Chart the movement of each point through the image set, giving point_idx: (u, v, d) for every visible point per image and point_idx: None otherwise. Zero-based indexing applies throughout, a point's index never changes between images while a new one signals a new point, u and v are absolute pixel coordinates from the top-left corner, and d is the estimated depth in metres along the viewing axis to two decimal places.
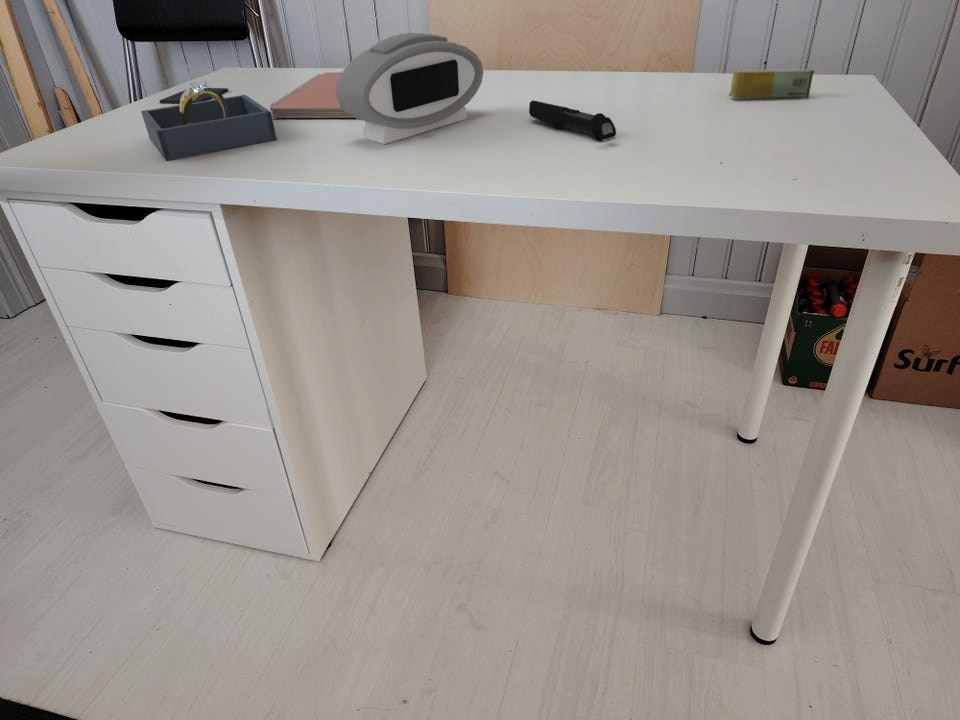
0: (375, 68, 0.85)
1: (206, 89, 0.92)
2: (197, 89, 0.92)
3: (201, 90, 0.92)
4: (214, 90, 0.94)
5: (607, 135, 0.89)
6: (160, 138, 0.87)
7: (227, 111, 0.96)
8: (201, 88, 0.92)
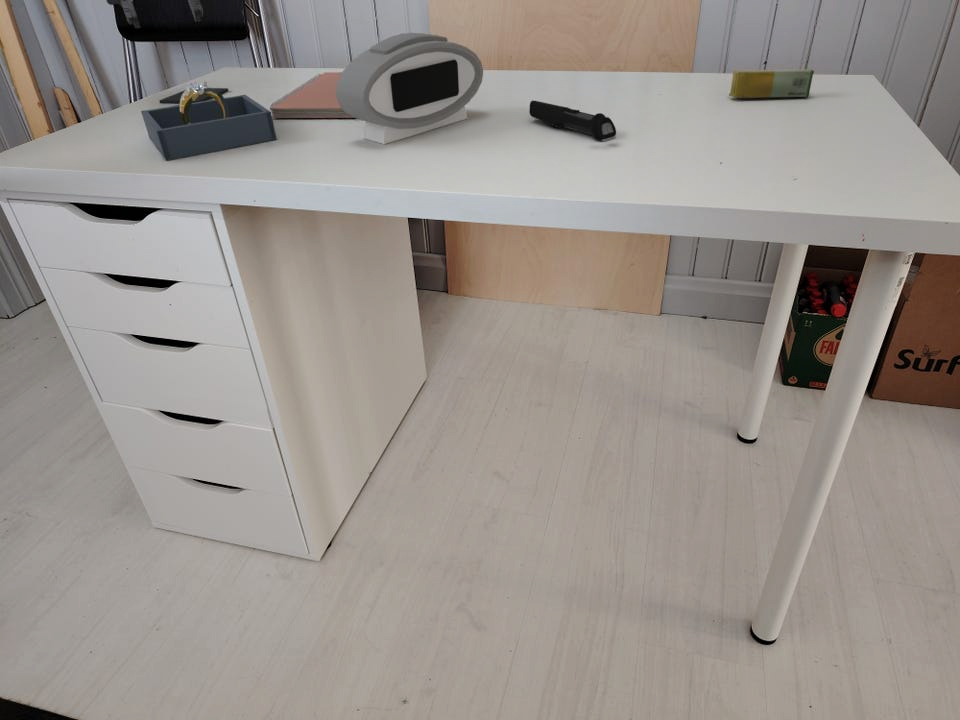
0: (375, 67, 0.85)
1: (206, 89, 0.92)
2: (197, 89, 0.92)
3: (201, 90, 0.92)
4: (214, 90, 0.94)
5: (607, 135, 0.89)
6: (160, 138, 0.87)
7: (227, 111, 0.96)
8: (201, 88, 0.92)
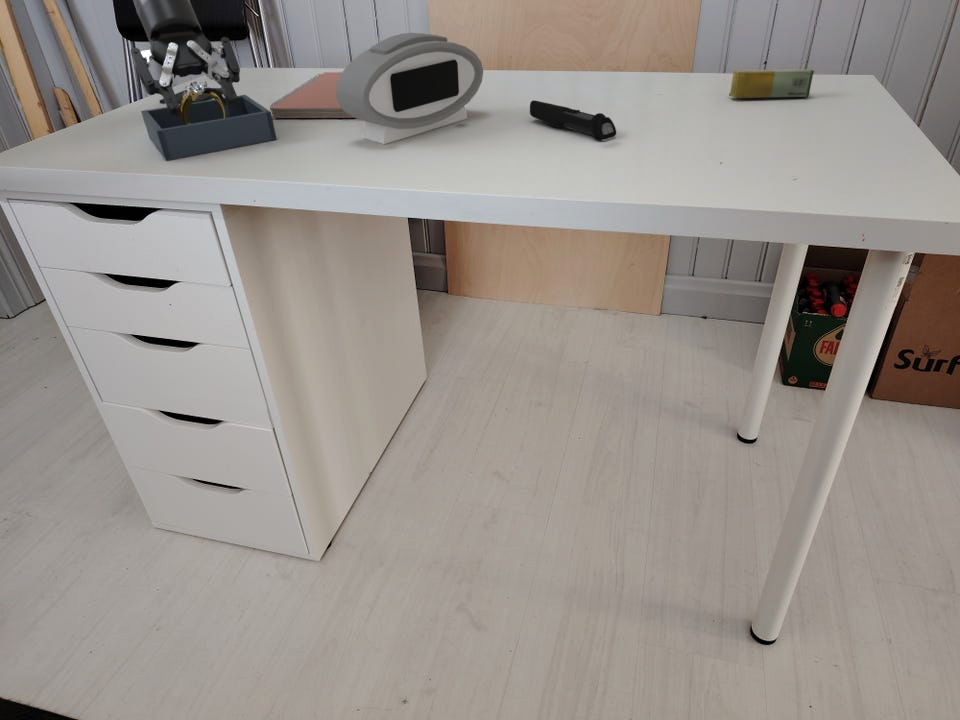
0: (375, 67, 0.85)
1: (206, 89, 0.92)
2: (197, 89, 0.92)
3: (201, 90, 0.92)
4: (214, 90, 0.94)
5: (607, 135, 0.89)
6: (160, 138, 0.87)
7: (227, 111, 0.96)
8: (201, 88, 0.92)
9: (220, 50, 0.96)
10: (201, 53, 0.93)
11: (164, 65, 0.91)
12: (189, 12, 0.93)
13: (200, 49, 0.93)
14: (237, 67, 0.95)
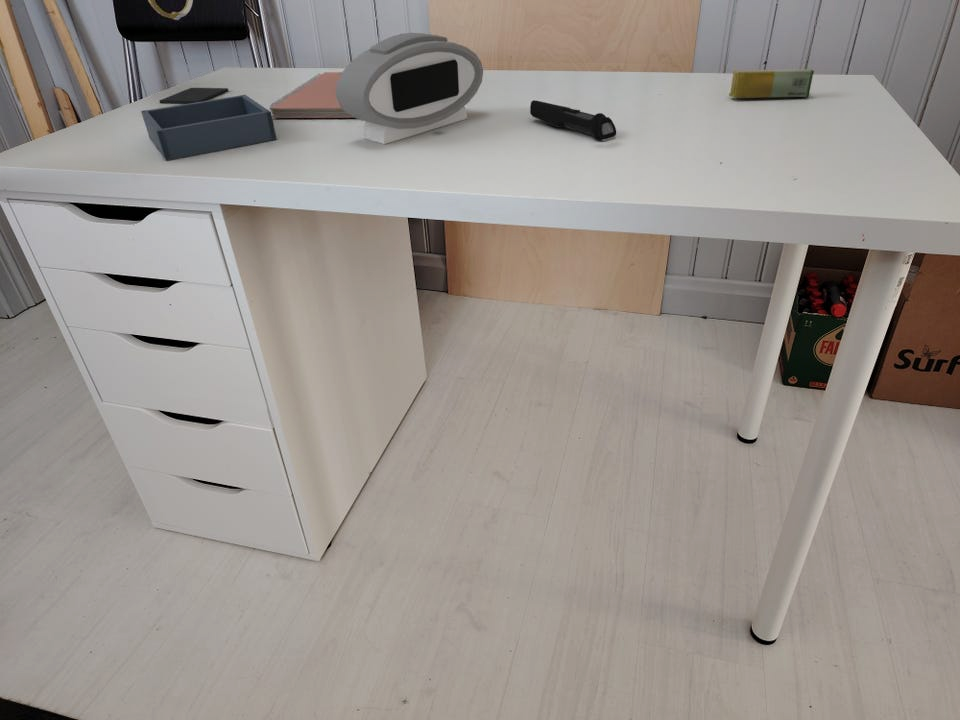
0: (375, 67, 0.85)
1: None
2: None
3: None
4: None
5: (607, 135, 0.89)
6: (160, 138, 0.87)
7: None
8: None
9: None
10: None
11: None
12: None
13: None
14: None
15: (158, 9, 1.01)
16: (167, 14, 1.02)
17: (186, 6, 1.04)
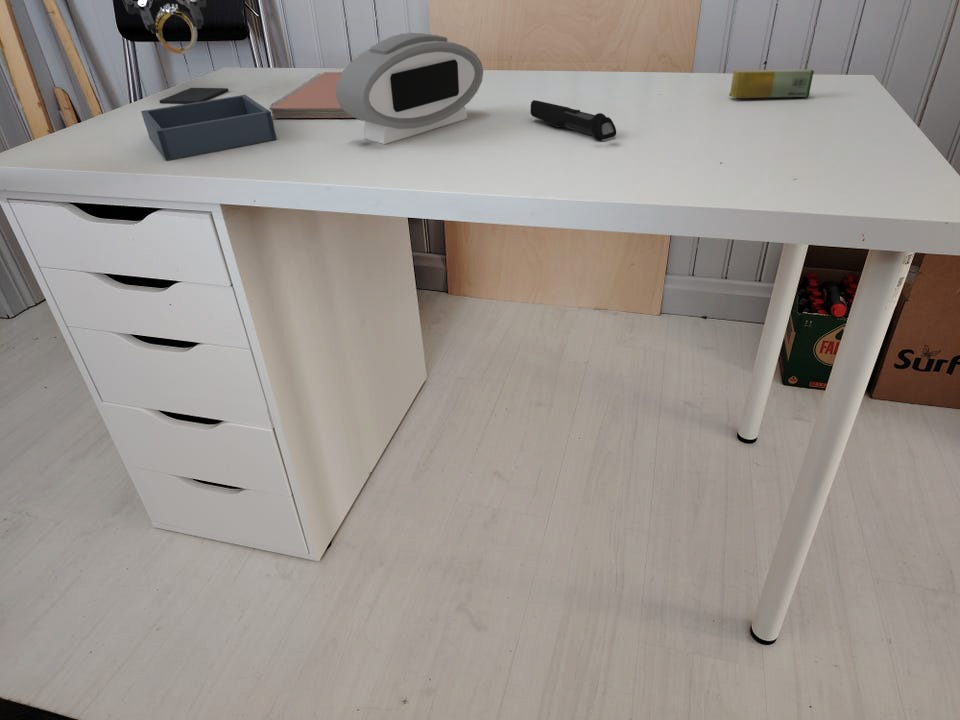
0: (375, 67, 0.85)
1: (177, 10, 1.12)
2: (169, 9, 1.11)
3: (172, 10, 1.11)
4: (184, 11, 1.13)
5: (607, 135, 0.89)
6: (160, 138, 0.87)
7: (195, 31, 1.16)
8: (172, 8, 1.11)
9: None
10: None
11: None
12: None
13: None
14: None
15: (166, 45, 1.14)
16: (174, 49, 1.15)
17: (191, 42, 1.17)
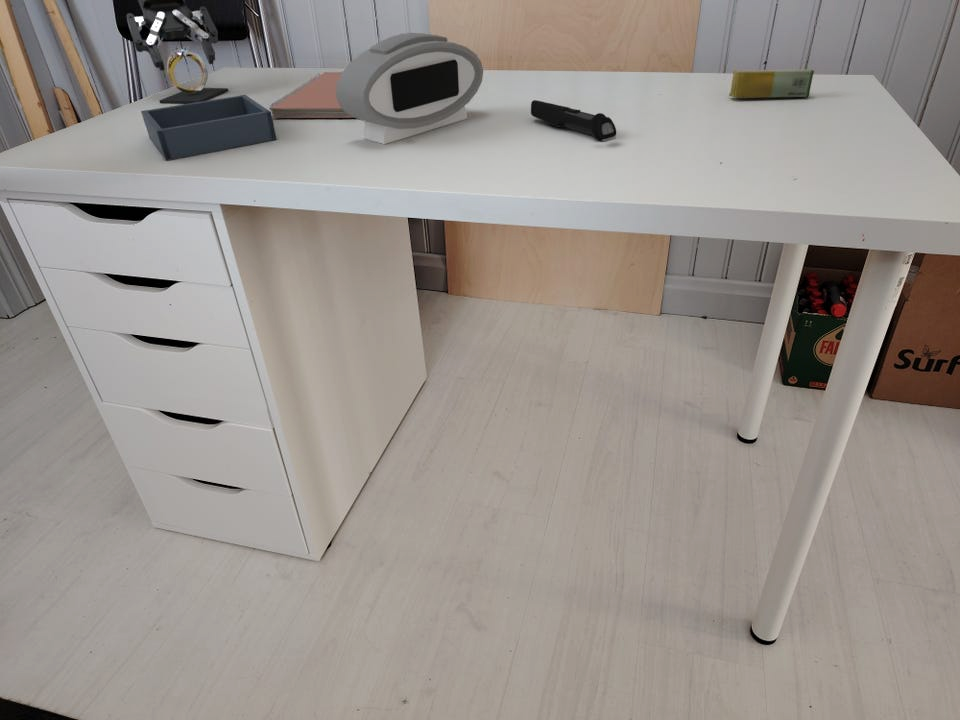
0: (375, 67, 0.85)
1: (188, 52, 1.16)
2: (181, 52, 1.15)
3: (184, 53, 1.15)
4: (195, 53, 1.17)
5: (607, 135, 0.89)
6: (160, 138, 0.87)
7: (206, 71, 1.20)
8: (184, 51, 1.15)
9: (200, 17, 1.19)
10: (184, 20, 1.16)
11: (152, 28, 1.14)
12: None
13: (183, 17, 1.16)
14: (215, 30, 1.18)
15: (178, 86, 1.18)
16: (186, 90, 1.19)
17: (202, 82, 1.20)
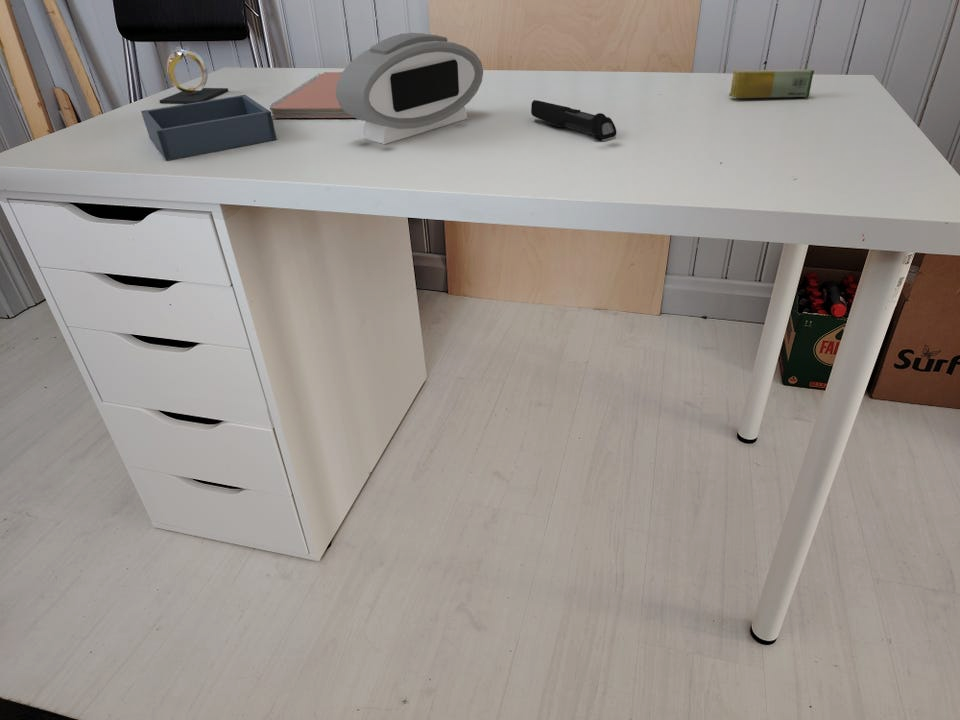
0: (375, 67, 0.85)
1: (188, 52, 1.16)
2: (181, 52, 1.15)
3: (184, 53, 1.15)
4: (195, 53, 1.17)
5: (607, 135, 0.89)
6: (160, 138, 0.87)
7: (206, 71, 1.20)
8: (184, 51, 1.15)
9: None
10: None
11: None
12: None
13: None
14: None
15: (178, 86, 1.18)
16: (186, 90, 1.19)
17: (202, 82, 1.20)
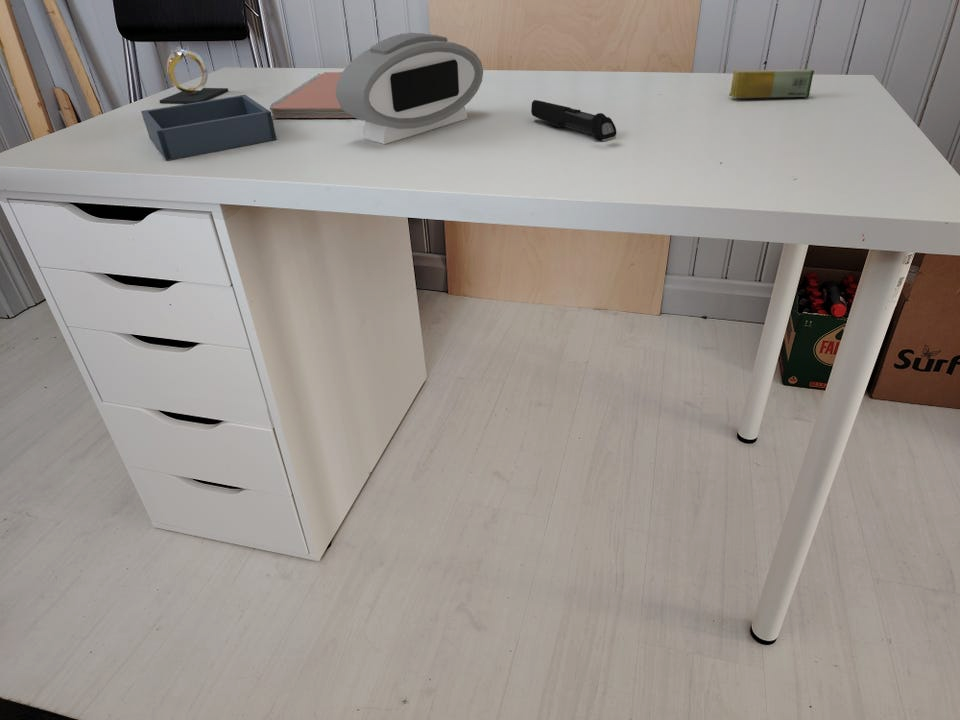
0: (375, 67, 0.85)
1: (188, 52, 1.16)
2: (181, 52, 1.15)
3: (184, 53, 1.15)
4: (195, 53, 1.17)
5: (607, 135, 0.89)
6: (160, 138, 0.87)
7: (206, 71, 1.20)
8: (184, 51, 1.15)
9: None
10: None
11: None
12: None
13: None
14: None
15: (178, 86, 1.18)
16: (186, 90, 1.19)
17: (202, 82, 1.20)
